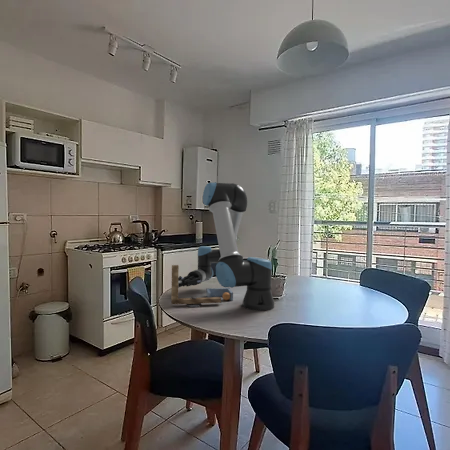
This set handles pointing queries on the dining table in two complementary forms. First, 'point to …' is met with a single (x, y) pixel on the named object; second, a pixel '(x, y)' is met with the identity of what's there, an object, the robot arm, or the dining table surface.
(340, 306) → the dining table surface
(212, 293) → the blue-gray u-shaped bracket
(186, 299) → the lever
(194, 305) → the pivot base
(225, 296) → the ball
